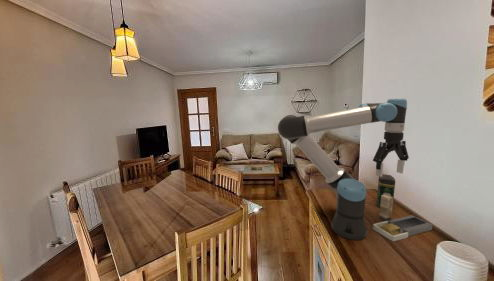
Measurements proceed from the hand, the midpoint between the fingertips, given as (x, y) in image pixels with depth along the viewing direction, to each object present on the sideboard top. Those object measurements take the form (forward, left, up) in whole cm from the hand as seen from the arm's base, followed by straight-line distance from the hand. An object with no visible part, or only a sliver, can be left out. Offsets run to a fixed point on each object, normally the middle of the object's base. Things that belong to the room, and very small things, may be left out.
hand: (389, 174), depth 99 cm
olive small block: (-6, -9, -24) cm, 27 cm away
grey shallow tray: (+4, -9, -24) cm, 26 cm away
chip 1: (-9, -9, -24) cm, 28 cm away
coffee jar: (+13, +11, -25) cm, 30 cm away
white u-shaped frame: (-8, -9, -24) cm, 27 cm away
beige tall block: (0, 0, -24) cm, 25 cm away
